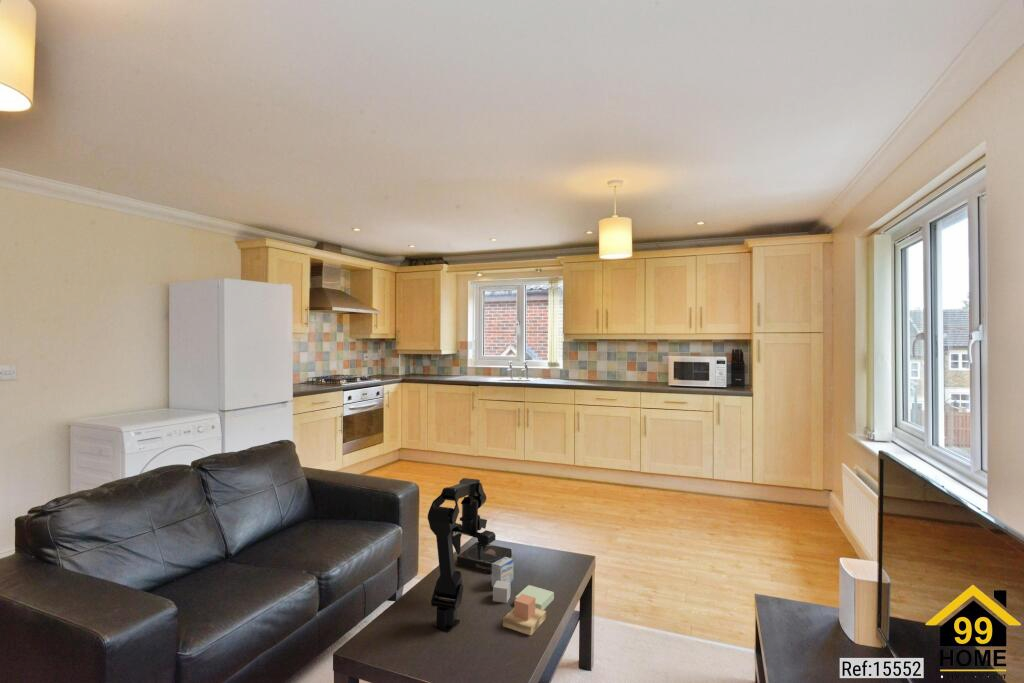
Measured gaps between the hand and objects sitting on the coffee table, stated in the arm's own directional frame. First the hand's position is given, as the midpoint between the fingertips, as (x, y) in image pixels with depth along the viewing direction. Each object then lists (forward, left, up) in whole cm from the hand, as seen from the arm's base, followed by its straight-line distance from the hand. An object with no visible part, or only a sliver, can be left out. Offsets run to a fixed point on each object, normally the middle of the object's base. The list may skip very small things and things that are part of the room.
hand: (469, 557), depth 181 cm
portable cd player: (+25, +9, -14) cm, 30 cm away
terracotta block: (-6, -26, -10) cm, 29 cm away
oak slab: (-6, -26, -13) cm, 30 cm away
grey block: (+3, -12, -13) cm, 18 cm away
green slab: (+7, -23, -13) cm, 27 cm away
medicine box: (+12, -7, -13) cm, 19 cm away
